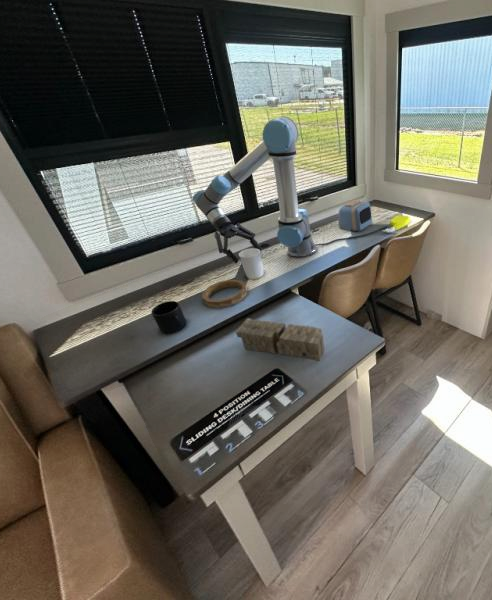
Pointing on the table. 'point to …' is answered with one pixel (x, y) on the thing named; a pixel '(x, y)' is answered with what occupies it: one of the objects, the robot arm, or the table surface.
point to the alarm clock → (355, 215)
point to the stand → (227, 301)
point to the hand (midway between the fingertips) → (248, 256)
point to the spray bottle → (398, 223)
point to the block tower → (282, 338)
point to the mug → (169, 317)
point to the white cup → (251, 263)
